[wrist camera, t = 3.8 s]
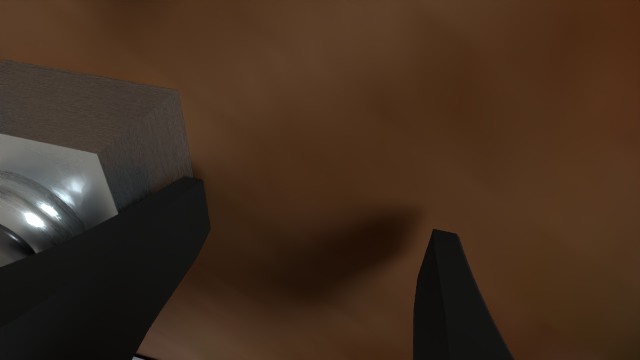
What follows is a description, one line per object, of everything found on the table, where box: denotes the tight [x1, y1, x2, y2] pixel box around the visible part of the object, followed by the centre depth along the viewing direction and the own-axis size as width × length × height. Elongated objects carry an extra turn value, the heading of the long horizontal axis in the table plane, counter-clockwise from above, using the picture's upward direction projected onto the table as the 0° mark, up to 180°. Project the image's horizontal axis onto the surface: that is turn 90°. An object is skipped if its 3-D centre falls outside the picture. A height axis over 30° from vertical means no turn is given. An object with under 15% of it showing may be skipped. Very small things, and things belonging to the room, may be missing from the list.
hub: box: [0, 60, 194, 267], centre depth 12 cm, size 6×6×5 cm
